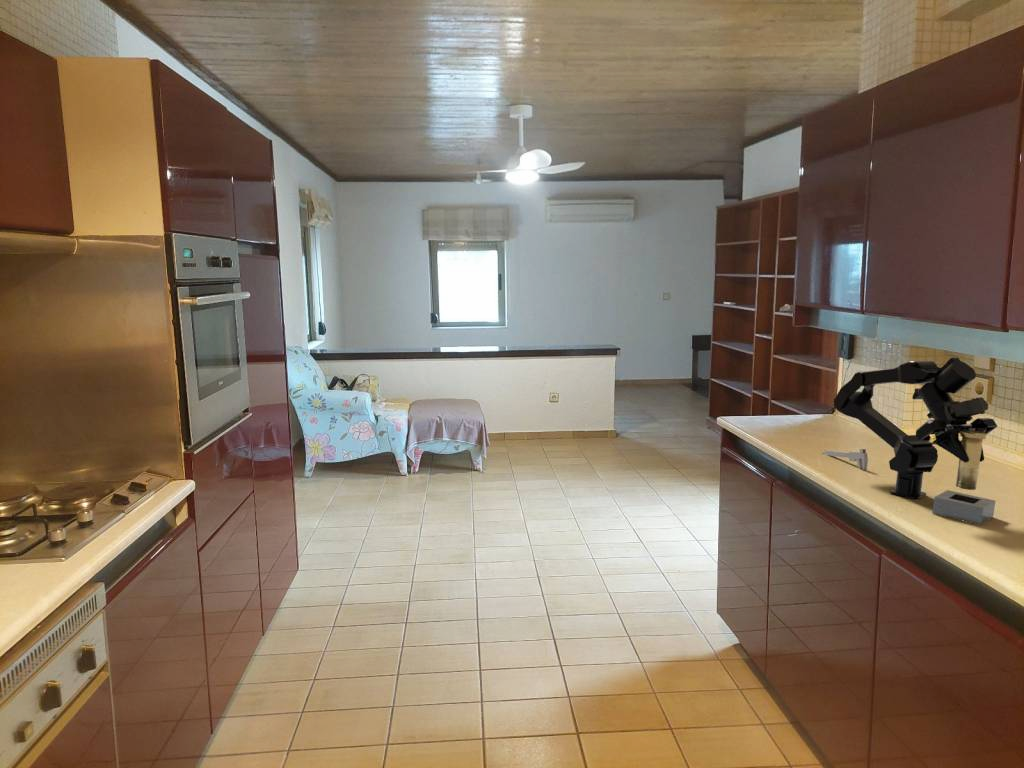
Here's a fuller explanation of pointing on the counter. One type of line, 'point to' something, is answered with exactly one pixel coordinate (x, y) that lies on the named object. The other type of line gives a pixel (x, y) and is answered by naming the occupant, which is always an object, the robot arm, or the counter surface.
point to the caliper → (852, 457)
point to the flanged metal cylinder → (970, 459)
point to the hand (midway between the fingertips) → (974, 461)
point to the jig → (963, 507)
